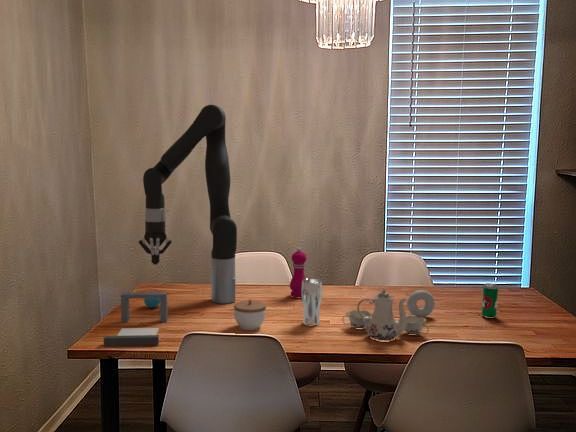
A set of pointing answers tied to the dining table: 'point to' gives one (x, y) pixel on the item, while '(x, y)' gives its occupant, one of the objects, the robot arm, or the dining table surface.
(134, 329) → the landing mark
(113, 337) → the wall
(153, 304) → the ball
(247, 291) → the dining table surface
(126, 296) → the bridge
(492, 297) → the soda can
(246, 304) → the lidded jar
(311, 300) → the beer glass
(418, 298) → the donut
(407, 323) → the chinaware
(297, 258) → the pepper mill
